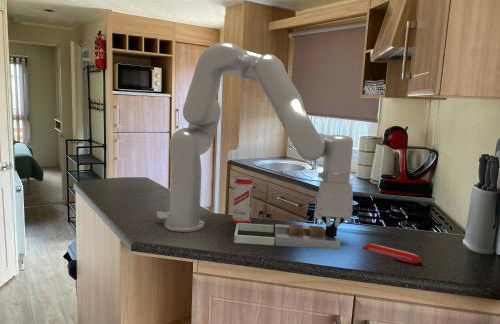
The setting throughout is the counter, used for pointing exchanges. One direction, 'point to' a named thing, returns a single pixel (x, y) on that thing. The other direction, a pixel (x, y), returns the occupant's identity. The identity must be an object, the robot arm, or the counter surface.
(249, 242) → the tray
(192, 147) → the robot arm
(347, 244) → the counter surface
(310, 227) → the walnut block
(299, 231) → the walnut block
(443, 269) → the counter surface
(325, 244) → the slot channel
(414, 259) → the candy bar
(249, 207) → the beer can
